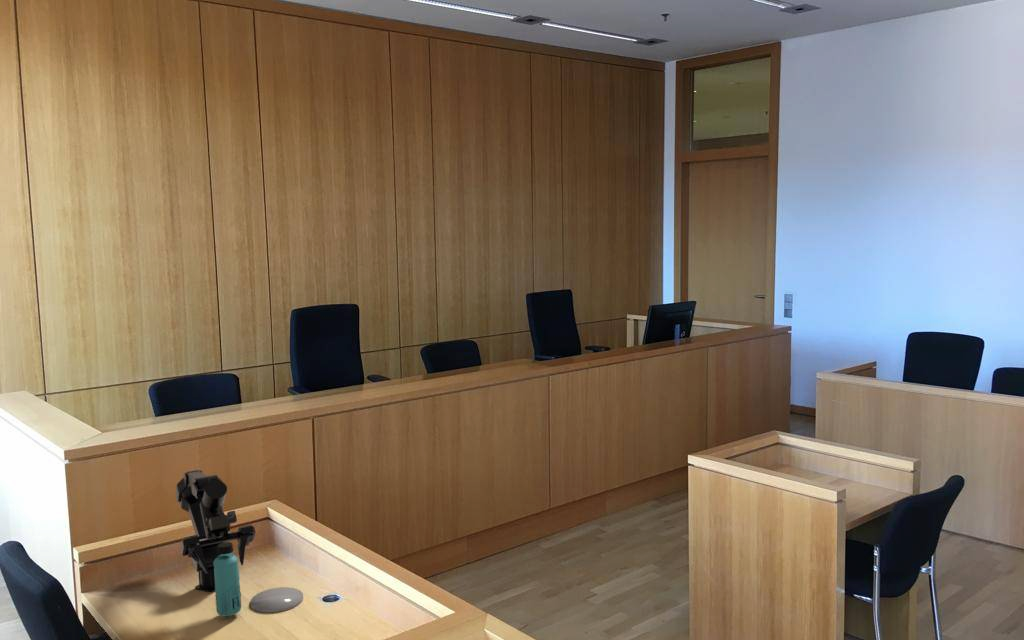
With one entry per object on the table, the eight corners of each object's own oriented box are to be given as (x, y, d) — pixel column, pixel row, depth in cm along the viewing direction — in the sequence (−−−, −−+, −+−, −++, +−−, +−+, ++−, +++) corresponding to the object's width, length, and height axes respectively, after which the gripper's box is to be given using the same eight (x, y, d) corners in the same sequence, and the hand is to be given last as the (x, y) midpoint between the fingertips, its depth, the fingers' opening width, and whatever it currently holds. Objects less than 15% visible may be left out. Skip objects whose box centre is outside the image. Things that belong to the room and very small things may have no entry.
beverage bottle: (234, 622, 217) (229, 549, 214) (211, 620, 218) (206, 547, 216) (246, 611, 223) (242, 539, 221) (224, 609, 224) (220, 538, 222)
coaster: (239, 607, 226) (239, 604, 225) (274, 586, 238) (274, 583, 238) (280, 616, 220) (280, 613, 220) (313, 594, 232) (313, 592, 232)
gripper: (180, 509, 219) (190, 563, 211) (251, 496, 228) (264, 547, 220) (176, 528, 226) (186, 581, 218) (246, 515, 236) (258, 565, 228)
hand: (224, 568), depth 221 cm, fingers open, 9 cm apart
